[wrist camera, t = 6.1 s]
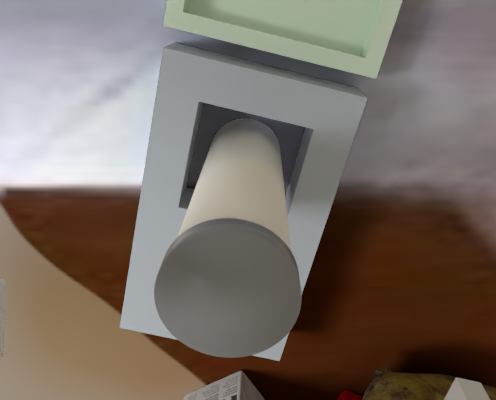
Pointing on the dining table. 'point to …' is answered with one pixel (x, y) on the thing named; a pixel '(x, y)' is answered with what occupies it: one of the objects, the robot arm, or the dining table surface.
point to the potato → (412, 386)
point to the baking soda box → (349, 396)
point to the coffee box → (227, 389)
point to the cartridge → (233, 251)
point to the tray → (296, 28)
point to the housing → (182, 147)
